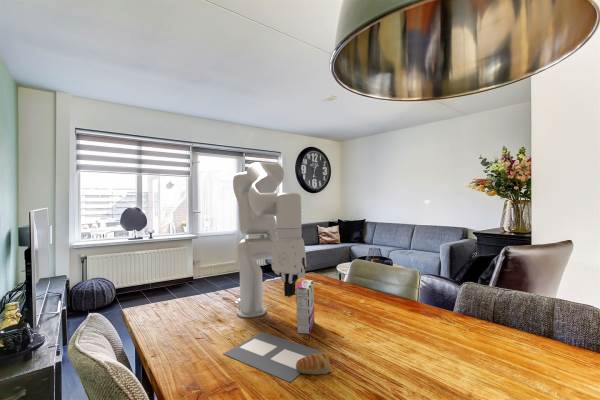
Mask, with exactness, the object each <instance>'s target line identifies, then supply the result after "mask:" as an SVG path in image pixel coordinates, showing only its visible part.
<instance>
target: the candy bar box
mask: <svg viewBox="0 0 600 400" xmlns="http://www.w3.org/2000/svg"><path fill="white" fill-rule="evenodd" d="M314 286H315V285H314V280H312V279H309V280H308V279H301V281H300V282H299V284H298V285H297V286H296V287H295V296H296V297H295V298H296V299H295V300H296V326H297V327H296V329H297V330H296V331H297V333H296V334H301V335H310V334H311V332H312V330H313V327H314V324H315V296H314V295H315V293H314V292H315V291H314V290H315V289H314Z"/></svg>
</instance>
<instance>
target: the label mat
mask: <svg viewBox="0 0 600 400" xmlns="http://www.w3.org/2000/svg"><path fill="white" fill-rule="evenodd" d="M323 352H324V353H326V352H325V351H323V350H319V349H316V348H314V347H310V346H307V345H304V344H301V343H297V342H295V341H291V340H290V339H286V338H282V337H279V336H276V335H274V334H269V333H268V332H264V331H261V332H259V333H257V334H256V335H253V336H252V337H249V339H247V340H245V341H243V342H242V343H239V344H237V345H236V346H234V347H232V348H230V349H228V350H226V351H225V352H223V353H222V354H223V355H224V356H226V357H228V358H231V359H234V360H235V361H238V362H240V363H243V364H245V365H248V366H250V367H252V368H255V369H257V370H260V371H262V372H264V373H266V374H268V375H271V376H273V377H276V378H278V379H280V380H282V381H285V382H287V383H290V384H291V383H292V382H293V381H294V380H296V378H297V377H298V376H300V375H301V374H302V373H301V372H299V371H298V370H297V369H296V363H297V361H298V360H300V359H302V358H303V357H307V356H309V355H310V354H312V353H323Z"/></svg>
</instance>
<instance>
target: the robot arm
mask: <svg viewBox="0 0 600 400" xmlns="http://www.w3.org/2000/svg"><path fill="white" fill-rule="evenodd" d="M284 177H285V172H284V168H283V167H282V165H280V164H279V163H276V162H263V161H262V162H260V161H259V162H257V161H256V162H253V163H251V164H250V165H248V167H247V169H246V171H243V172H238V173H236V174H235V175H234V176H233V178H232V186H233V187H232V188H233V192H234V195H235V198H236V201H237V204H238V205H237V206H238V218H239V219H238V221H239V224H238V225H239V231H240V233H241V234H242V235H243V236H259V235H260V236H261V235H264V237H251V238H249V237H248V238H244V239H241V240H240V241H239V242H238V243H237V246H236V250H237V251H236V252H237V258H238V262H239V265H238V267H239V298H238V299H237V300H236V301H234V302H235V303H234V305H236V306H238V308H237V309H236V315H237V316H238V317H241V318H256V317H260V316H263V315H264V314H266V313H267V307H266V306H264V304H263V270H262V268H261V266H260V265H259V264H258V263H257V262H258V261H262V260H263V261H264V260H271V269H272V271H273V272H274V274H276V275H278V276H280V279H281V281H282V283H283V292H284V294H283V295H284V297H288V298H290V297H293V296H296V282H297V281H298V280H299V279H303V278H305V277H306V270H307V252H306V247H305V241H304V238H302V233H303V231H302V197H301V195H300V193H298V192H276V190H277V189H278V187H279V186H280V185H281V184H282V183H283V181H284Z"/></svg>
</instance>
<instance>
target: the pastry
mask: <svg viewBox="0 0 600 400" xmlns="http://www.w3.org/2000/svg"><path fill="white" fill-rule="evenodd" d="M324 352H325V351H323V353H312V354H310V355H309V356H307V357H303V358H302V359H300V360H298V361H297V363H296V369H297V370H298V371H299V372H301V374H305V375H307V374H308V375H316V376H317V375H321V374H322V375H326V374H328V373H330V372H331V363H330V362H331V361H330V358H329V356H328V354H327V352H325V353H324Z"/></svg>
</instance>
